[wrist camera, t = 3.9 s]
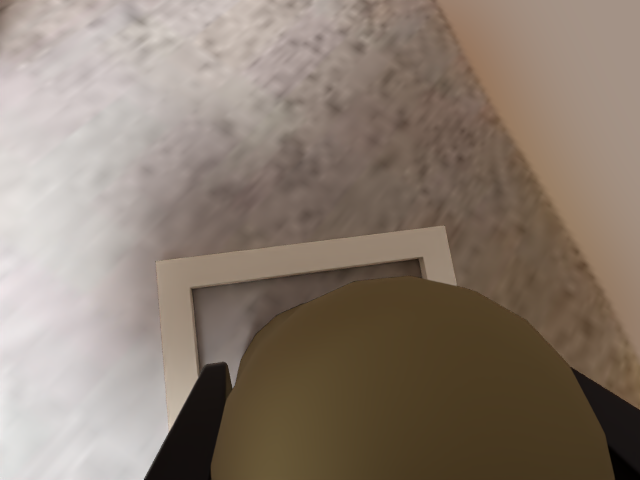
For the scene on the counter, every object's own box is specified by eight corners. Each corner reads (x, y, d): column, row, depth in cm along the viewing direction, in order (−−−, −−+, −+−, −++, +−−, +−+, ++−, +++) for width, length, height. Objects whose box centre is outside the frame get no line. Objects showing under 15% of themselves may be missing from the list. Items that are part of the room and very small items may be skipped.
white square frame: (499, 525, 15) (507, 531, 15) (185, 594, 14) (182, 603, 13) (439, 228, 17) (444, 225, 17) (158, 263, 16) (155, 261, 15)
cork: (194, 409, 15) (1, 586, 4) (311, 265, 16) (391, 121, 6) (342, 533, 15) (537, 1063, 4) (448, 376, 16) (810, 448, 5)
